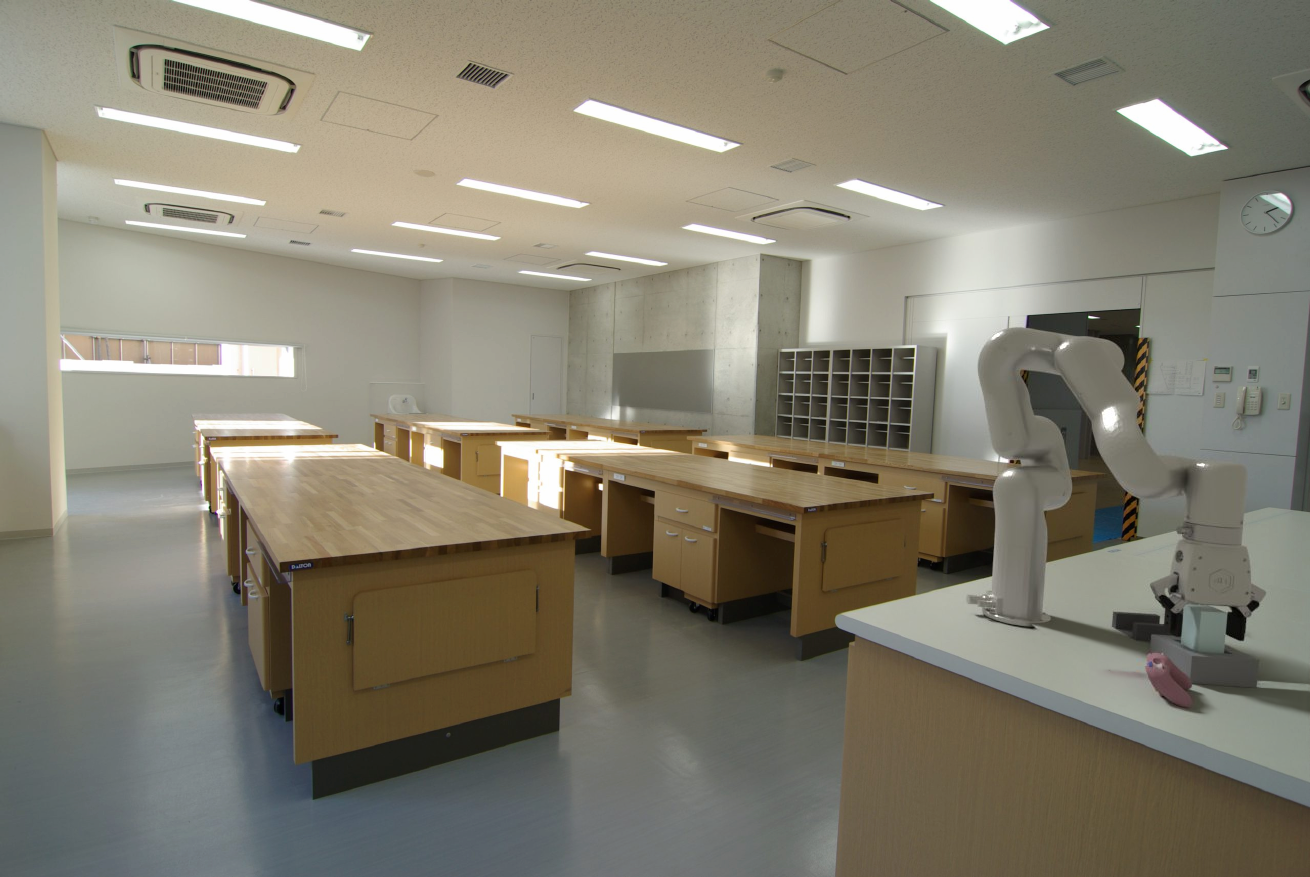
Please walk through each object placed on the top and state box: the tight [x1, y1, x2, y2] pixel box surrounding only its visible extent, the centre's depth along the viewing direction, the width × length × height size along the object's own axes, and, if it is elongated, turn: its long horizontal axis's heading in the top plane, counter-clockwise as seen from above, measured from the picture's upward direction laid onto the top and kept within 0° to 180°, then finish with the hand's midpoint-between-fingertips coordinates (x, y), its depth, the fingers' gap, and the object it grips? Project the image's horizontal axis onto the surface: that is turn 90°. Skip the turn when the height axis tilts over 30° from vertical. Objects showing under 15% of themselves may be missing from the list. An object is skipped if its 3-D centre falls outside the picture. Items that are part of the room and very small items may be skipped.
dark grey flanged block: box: [1111, 611, 1173, 643], centre depth 127 cm, size 8×8×4 cm
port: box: [1149, 634, 1260, 689], centre depth 111 cm, size 10×10×5 cm
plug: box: [1181, 604, 1228, 653], centre depth 111 cm, size 4×4×10 cm
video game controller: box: [1144, 652, 1193, 709], centre depth 102 cm, size 10×5×7 cm, turn 141°
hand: (1203, 636), depth 111 cm, fingers open, 9 cm apart
